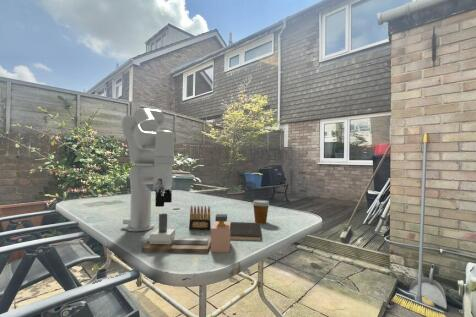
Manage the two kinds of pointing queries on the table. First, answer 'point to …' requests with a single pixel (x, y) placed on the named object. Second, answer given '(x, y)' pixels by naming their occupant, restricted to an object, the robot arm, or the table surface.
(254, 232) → the hardcover book
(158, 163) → the robot arm
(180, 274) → the table surface
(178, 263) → the table surface
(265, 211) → the disposable coffee cup
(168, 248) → the rail bed
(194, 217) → the ammunition clip
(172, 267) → the table surface
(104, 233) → the table surface
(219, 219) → the button
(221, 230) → the pink block
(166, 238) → the carriage
